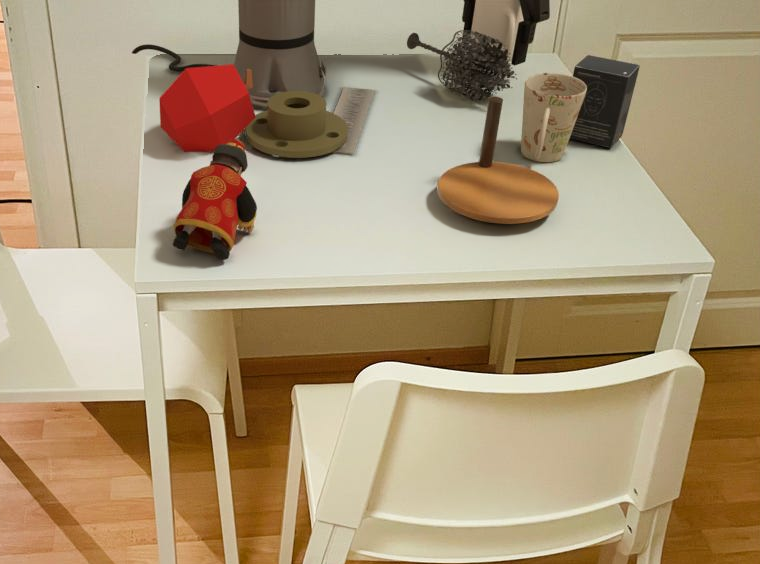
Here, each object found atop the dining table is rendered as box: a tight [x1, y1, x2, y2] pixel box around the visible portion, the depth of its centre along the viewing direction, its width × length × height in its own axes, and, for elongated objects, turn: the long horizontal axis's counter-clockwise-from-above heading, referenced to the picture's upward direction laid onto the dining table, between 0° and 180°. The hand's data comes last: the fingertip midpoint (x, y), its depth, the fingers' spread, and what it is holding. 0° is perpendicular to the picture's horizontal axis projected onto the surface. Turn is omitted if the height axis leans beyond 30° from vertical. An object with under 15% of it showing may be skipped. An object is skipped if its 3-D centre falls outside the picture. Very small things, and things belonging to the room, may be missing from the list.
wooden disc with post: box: [436, 96, 560, 225], centre depth 120 cm, size 16×16×10 cm
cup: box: [469, 0, 524, 63], centre depth 152 cm, size 8×12×10 cm
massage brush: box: [406, 29, 518, 102], centre depth 149 cm, size 9×22×9 cm
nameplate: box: [329, 87, 375, 156], centre depth 143 cm, size 23×1×5 cm
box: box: [569, 54, 641, 149], centre depth 136 cm, size 8×6×11 cm
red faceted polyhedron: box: [158, 63, 256, 153], centre depth 134 cm, size 12×12×15 cm
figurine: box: [172, 138, 258, 260], centre depth 115 cm, size 10×10×15 cm
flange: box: [244, 91, 348, 159], centre depth 136 cm, size 5×15×15 cm
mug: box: [520, 72, 587, 163], centre depth 131 cm, size 8×13×10 cm, turn 163°
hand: (492, 53), depth 155 cm, fingers closed on cup, 10 cm apart
